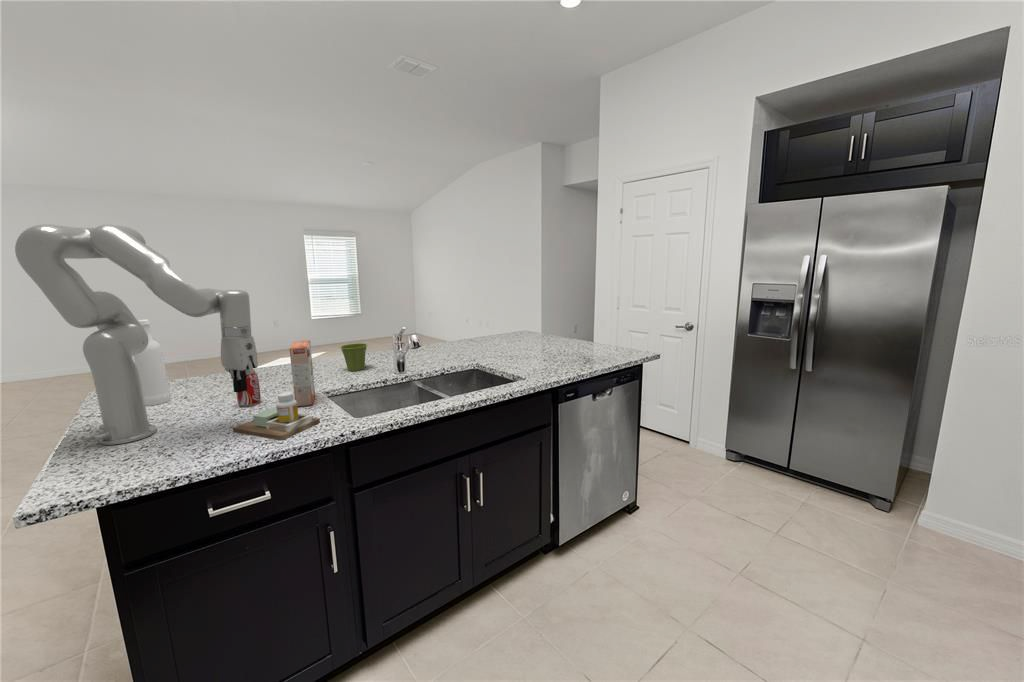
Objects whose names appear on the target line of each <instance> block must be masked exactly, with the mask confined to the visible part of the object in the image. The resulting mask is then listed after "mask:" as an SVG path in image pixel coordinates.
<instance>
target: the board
mask: <svg viewBox="0 0 1024 682" xmlns="http://www.w3.org/2000/svg"><path fill="white" fill-rule="evenodd" d="M298 417H299V420H297V421H294V422H292V423H290V424H284V423H278V415H277V416H275V417H273V419H272V420H270V421H268V422H266V427H261V426H255V425H254V420H250V421H247V422H245V423H242V424H240V425H237V426H234V427H233V428H232V431H233V433H237V434H238V433H239V434H243V435H249V436H255V437H260V438H265V439H266V438H267V439H273V440H276V441H277V440H278V441H283V440H285V439H287V438H289V437H292V436H294V435H296V434H298V433H300V432H302V431H305V430H307V429H309V428H311V427H313V426H315V425H317V424H320V423H321V419H320V418H317V417H312V415H309V414H304V413H298Z"/></svg>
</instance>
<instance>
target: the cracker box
mask: <svg viewBox="0 0 1024 682" xmlns="http://www.w3.org/2000/svg"><path fill="white" fill-rule="evenodd" d="M312 355H313V354H312V347H311V340H308V339H307V340H298V341H297V340H296V341H293V342H292V344H291V345H290V346H289V358H290V366H291V375H292V384H293V385H292V386H293V397H294V399H295V400H296V402H297V408H298V407H306V406H307V407H308V406H313V405H314V401H315V396H316V391H315V379H314V367H313V366H314V365H313V356H312Z"/></svg>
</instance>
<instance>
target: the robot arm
mask: <svg viewBox="0 0 1024 682" xmlns="http://www.w3.org/2000/svg"><path fill="white" fill-rule="evenodd" d="M146 243H147V241H146V239H145V238H144V236H143V234H141V233H140V232H139V231H137V230H135V229H133V228H131V227H128V226H123V225H116V224H115V225H114V224H102V225H97V226H96V227H74V226H65V225H56V224H37V225H33V226H30V227H28V228H26V229H25V230H23V231H22V232H21V233H20V234H19V236H18V237H17V239H16V241H15V244H14V245H15V246H14V251H15V252H14V253H15V257H16V260H17V262H18V264H19V265H20V267H21V268H22V269H23V270H24V272H25V273H26V274H27V275H28V277H30V278H31V280H32V281H33V282H34V283H35V284H36V285H37V287H38V288H39V289H40V290H41V292H42V293H43V295H44V296H45V297H46V299H48V301H49V302H50V303H51V305H52V306H53V308H55V310H56V311H57V312H58V313H59V315H60V316H61V317H62V319H64V321H65V322H66V323H67V324H69V325H70V326H72V327H75V328H79V329H89V328H97V329H98V330H96V331H94V332H92V333H91V334H89V335H88V336H87V337H86V338H85V340H84V341H83V345H82V352H83V356H84V358H85V360H86V362H87V364H88V366H89V369H90V372H91V375H92V380H93V384H94V388H95V392H96V397H97V402H98V406H99V407H98V408H99V411H100V415H101V421H102V425H100V426H98V429H96V430H95V432H91V433H86V434H83V435H81V440H82V442H84V443H87V442H90V441H91V442H92V441H93V440H94V441H98V443H99V444H100V445H104V446H106V445H107V446H115V445H121V444H128V443H132V442H135V441H139V440H142V439H145V438H147V437H150V436H152V435H153V434H155V433H156V432H157V431H158V429H157V428H158V427H157V426H156V425H154V424H151V423H150V422H149V418H148V413H147V406H145V401H144V396H143V390H142V385H141V380H140V375H139V372H138V369H137V367H136V365H135V360H134V359H133V357H134V355H137V354H139V353H141V352H143V351H144V350H145V349H146V347H147V346H148V342H149V340H148V335H147V333H146V331H145V330H144V328H143V327H142V326H141V324H140V323H139V322H138V320H139V319H137V318H136V316H135V314H133V312H132V311H131V309H130V308H129V307H128V306H127V305H126V303H125V302H124V301H123V300H122V299H120V298H119V297H118V296H116V295H115V294H113V293H111V292H107V291H99V290H98V291H94V290H93V289H92V288H91V287H90V286H89V285H88V284H87V283H86V281H85V280H84V278H83V276H82V275H81V274H80V273H79V272H78V271H77V270H75V268H73V267H72V266H70V265H69V263H67V262H66V259H74V260H75V259H79V260H81V259H85V260H86V259H107V260H109V261H110V262H112V263H114V264H116V265H117V266H119V267H120V268H122V269H124V270H125V271H127V272H128V273H129V274H131V275H133V276H134V277H136V278H138V279H139V280H140V281H142V282H143V283H144V284H145V285H146V287H147V288H148V289H149V290H150V291H151V292H152V293H153V294H154V295H155V296H157V298H159V300H162V302H164V303H166V304H167V305H169V306H171V307H172V308H174V309H175V310H177V311H178V312H180V313H182V314H183V315H186V316H189V317H191V318H192V317H193V318H202V317H205V316H208V315H213V314H219V319H220V332H221V339H220V362H221V366H222V367H223V368H224V370H225V371H226V372H228V373H229V374H230V378H231V379H232V385H233V392H234V393H236V392H237V393H239V392H243V391H247V378H248V375H250V374H253V373H254V371H253V369H257V368H258V366H259V362H258V353H257V352H258V351H257V347H256V342H255V339H254V336H252V321H251V307H250V303H251V302H250V295H249V293H248V292H247V291H245V290H240V289H238V290H237V289H233V290H232V289H229V290H227V289H225V290H224V289H223V290H222V289H221V290H220V289H214V288H198V289H197V288H195V287H194V286H192V285H191V284H190V283H188V282H186V281H184V280H183V279H182V278H180V277H179V276H178V275H176V273H175V272H173V270H172V268H171V266H170V262H169V260H168V258H167V257H165V256H164V255H162V254H161V253H160V252H158V251H156V250H155V249H153V248H152V247H150V246H148V245H147V244H146ZM149 423H150V424H149Z"/></svg>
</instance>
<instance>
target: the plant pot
mask: <svg viewBox="0 0 1024 682" xmlns="http://www.w3.org/2000/svg"><path fill="white" fill-rule="evenodd" d="M367 346H368V344H367V343H363V342H362V343H361V342H358V343H357V342H356V343H349V344H344V345H341V346H339V348H340V349H341V352H342V354H343V357H344V361H345V364H346V368H347V370H348V371H351V372H360V371H361V370H364V369H365V368H366V352H367Z"/></svg>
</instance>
